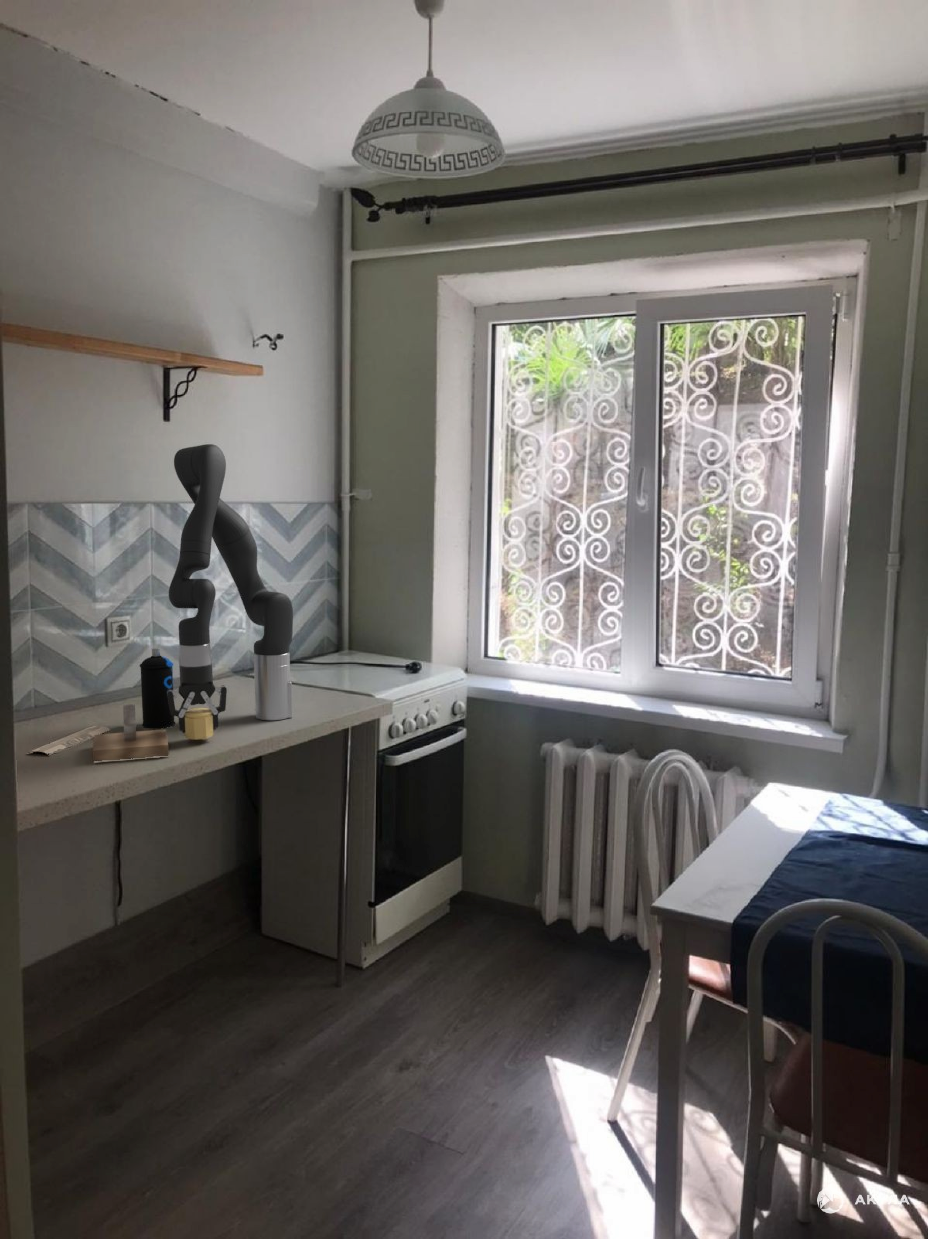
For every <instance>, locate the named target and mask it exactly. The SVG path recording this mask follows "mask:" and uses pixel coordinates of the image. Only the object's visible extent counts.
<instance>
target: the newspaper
mask: <svg viewBox="0 0 928 1239" xmlns="http://www.w3.org/2000/svg"><path fill="white" fill-rule="evenodd" d="M108 730H111V729H110V728H108V727H105V726H101V725H93V726H90V727H86V728H84V729H82V730H80V731H77V732H73V733H72V734H70V735H66V736H64V737H62V738H59V739H57V740H55V741H52V742H50V744H49V743H47V744H44V745H42V746H40V747H37V748H34V749H33V750H30V751H29V752H31V751H32V752H35V753H37V752H39V753H40V752H41V753H45V754H46V755H48V753H53V752H54V751H57V750H58V749H64V748H66V747H67V746H72V745H74V744H76V743H80V742H81V741H83V740H84V739H89V740H91V739H90V738H92V737H94V735H99V734H101V733H103V732H106V731H108ZM108 732H109V731H108ZM106 733H107V732H106ZM92 739H93V738H92ZM80 744H81V743H80Z"/></svg>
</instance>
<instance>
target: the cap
mask: <svg viewBox="0 0 928 1239" xmlns="http://www.w3.org/2000/svg"><path fill="white" fill-rule="evenodd" d="M184 717H185V733H184V736H185V739H189V740H204V739H208V738H211V737H213V736H214V730H213V715H212V711H211V709H210V708H209V707H206V708H205V707H196V708H188V709H187V711H186V713H185V715H184Z"/></svg>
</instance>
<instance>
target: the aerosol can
mask: <svg viewBox="0 0 928 1239" xmlns="http://www.w3.org/2000/svg"><path fill="white" fill-rule="evenodd" d="M160 650H161V647H152V648H151V656H150V657H147V658H144V660H143V661H142V662H141V663H140V664H139V668H140V683H141V684H140V685H141V686H140V687H141V709H142V712H141V713H142V724H141V727H142V726H143V727H142V728H143V729H147V730H162V729H161V728H163V729H168V728H171V727H170V726H172V727H174V726H175V725H176V724H177V723H176V721H175V716H172V715H171V713H170V708H169V702H168V696H167V690H169V689H170V690H174V675H173V674H174V672H173V666H174V662H172V661H171V660H170V659H169V658H168V657H165V656H163V655H161V653H160ZM167 727H168V728H167Z"/></svg>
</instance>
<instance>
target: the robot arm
mask: <svg viewBox="0 0 928 1239" xmlns="http://www.w3.org/2000/svg"><path fill="white" fill-rule="evenodd" d="M173 467H174V471H175V473H176V475H177V478H178V480H179V481H180V482H179V483H181V485H182V487H183V488H184V490H185V491H186V493H187V495H188V496H189V498H190V499H191V501H192V502H193V504H194V506H193V508H192V510H191V512H190V513H189V515H188V517H187V518H186V522H185V523H184V526H183V528H182V530H181V531H182V532H181V536H180V546H179V557H178V562H177V565H176V568H175V571H174V574H173V577H172V579H171V581H170V584H169V589H168V599H169V602H170V604H171V605H172V606H173V607H175V608H176V609H194V610H195V609H197V613H196V615H195V616H193V617H187V618H184V619H181V620H180V621H179V623H178V640H179V641H178V645H179V646H178V648H179V649H178V664H179V666H178V668H179V681H180V682H179V687H178V688H177V689H173V690H170V689H169V690H167V696H168V702H169V708H170V713H171V715H172V716H174V717H177V718H178V729H179V731H182V732H181V733H182V734H185V717H184V715H185V713H186V711H187V710H189V707H190V706H195V705H205V704H207V706H208V709H211V711H212V715H213V731H216V729H217V728H218V727H219V714H220V713H223V712H225V711H226V706H227V693H228V692H227V691H228V689H227V686H226V685H224V684H222V685H221V686H220V685H219V686H218V685H217V686H215V684H214V679H213V656H212V655H213V653H212V648H211V639H210V636H211V635H210V633H211V632H210V623H211V618H212V612H213V607H214V603H215V601H216V600H215V599H216V595H217V594H216V593H217V592H216V587H215V585H214V582H212V581H211V580H210V579H207V578H191V576H192V575H193V574H194V573H197V572H200V571H204V570H206V569H208V568H209V567H210V564H211V563H210V562H211V551H212V541H213V542H214V544H215V546H216V548H217V550H218V552H219V554H220V556H221V558H222V559H223V562H224V563H225V565H226V567H227V570H228V572H229V573H230V576H231V578H232V580H233V582H234V584H235V585H236V589H237V591H238V594H239V596H240V599H241V602H242V605H243V607H244V608H243V609H244V610H245V613H246V615H247V617H248V618H249V620H250V621H251V622H252V623H253V624H255V625H257V626H261V627H263V636H262V638H260V639H258V640H256V641H255V642H254V643H253V667H254V668H253V670H254V671H253V673H254V674H253V675H254V678H253V679H254V707H255V708H254V711H255V712H254V714H255V718H256V719H258V720H263V721H279V720H284V719H290V718H293V685H292V684H293V683H292V681H291V666H290V665H291V658H290V657H291V656H290V654H291V653H290V651H291V650H290V648H291V647H290V646H291V644H292V641H293V628H294V625H293V624H294V609H293V604H292V600H291V599H290V597H289V596H288V595H287V594H285V593H282V592H275V591H269V590H268V589H267V587H266V586H265V584H264V582H263V580H262V579H261V577H260V574H259V572H258V547H257V546H258V545H257V542H256V540H255V538H254V536H253V533H252V531H251V529H250V527H249V525H248V524H247V522H246V520H245V519H244V517H242V516H241V515H240V514H239V513H238V512H237V511H236V510H235V509H234V508H232V507H231V506H230V505H228V504H227V503H226V502H224V501H223V499H222V498H221V493H222V490H223V485H224V481H225V480H224V479H225V476H226V470H227V463H226V456H225V454H224V452H223V450H222V449H221V448H220V447H219V446H218V445H215V444H213V443H209V444H206V443H205V444H201V445H200V444H199V445H195V446H189V447H184V448H181V449H180V448H179V449H178V450H177V451H176V453H175V455H174V459H173ZM215 692H217V695H218V696H219V704H218V705H217V706H215V704H214V703H213V701H212V699H211V698H212V696H213V695H214V693H215ZM178 695H179V696H180V697H181V698H183V701H182V702H181V705H180V708H179V709H176V705H175V700H176V699H177V698H178Z"/></svg>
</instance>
